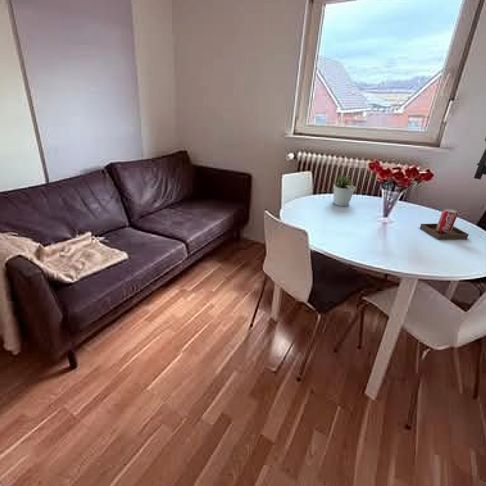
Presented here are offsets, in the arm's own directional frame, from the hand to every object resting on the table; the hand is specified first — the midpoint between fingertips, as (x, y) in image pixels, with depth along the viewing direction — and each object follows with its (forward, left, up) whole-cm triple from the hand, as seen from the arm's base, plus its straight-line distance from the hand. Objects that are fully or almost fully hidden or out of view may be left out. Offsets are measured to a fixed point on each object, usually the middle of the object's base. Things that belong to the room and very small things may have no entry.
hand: (480, 176), depth 159 cm
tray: (-11, +20, -27) cm, 35 cm away
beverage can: (-11, +20, -26) cm, 35 cm away
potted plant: (+33, +54, -27) cm, 69 cm away
